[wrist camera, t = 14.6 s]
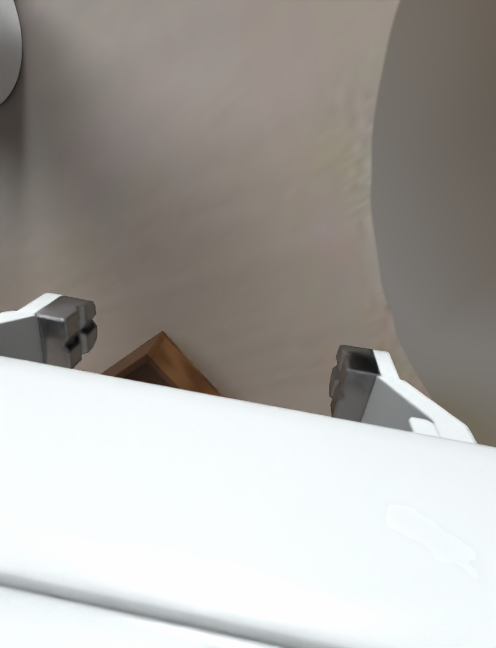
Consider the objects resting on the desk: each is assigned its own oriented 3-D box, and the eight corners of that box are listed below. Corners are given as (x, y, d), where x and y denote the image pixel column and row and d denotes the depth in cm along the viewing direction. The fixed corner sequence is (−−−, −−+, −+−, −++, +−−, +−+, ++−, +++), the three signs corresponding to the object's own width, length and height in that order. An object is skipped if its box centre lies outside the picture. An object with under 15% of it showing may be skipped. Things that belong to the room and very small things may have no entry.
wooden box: (87, 383, 52) (66, 408, 48) (162, 330, 47) (147, 353, 42) (168, 459, 57) (156, 489, 52) (244, 420, 52) (238, 449, 47)
